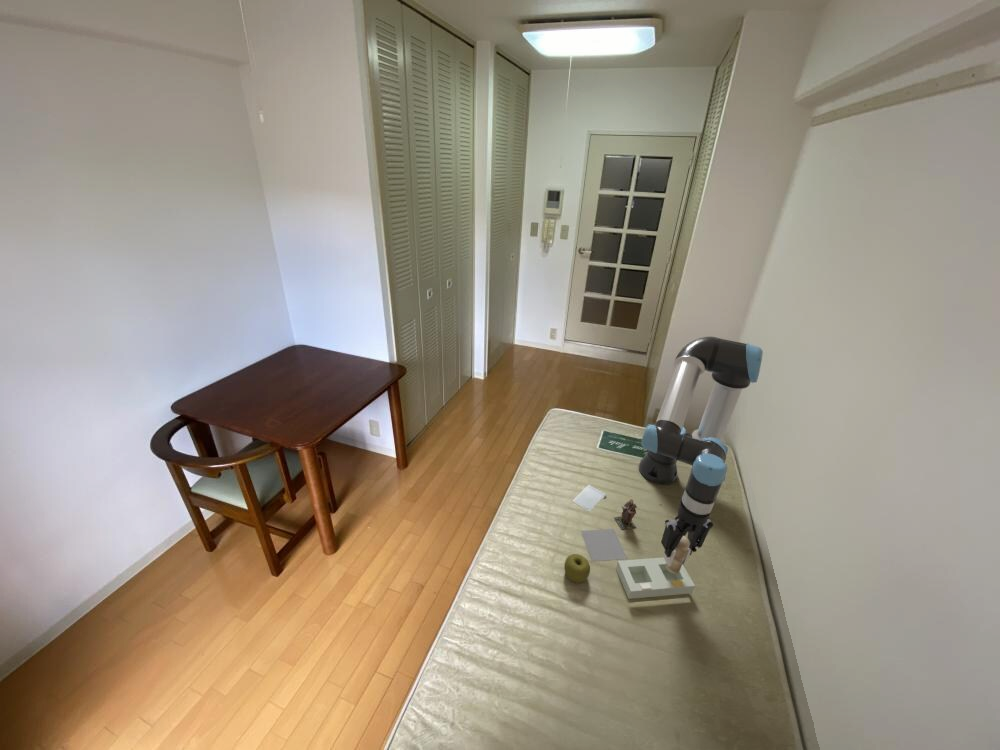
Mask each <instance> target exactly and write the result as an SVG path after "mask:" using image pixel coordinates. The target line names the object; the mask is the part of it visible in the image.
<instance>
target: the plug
mask: <svg viewBox="0 0 1000 750" xmlns="http://www.w3.org/2000/svg"><path fill="white" fill-rule="evenodd" d="M689 546H690V541H689V539H688V536H687V537H686V535H685V536H683V537H682V538H681V540H680V542H679V543H678V545H677V546H676V548H675V550H676V554H675V556H674V559H673V562H672V564H671V566H668V565H667V563H666V568H667V570H668V571H669V572H671V573H673V574H677V573H679V571H680V569H681V566H682V564H683V561H684V559H685V556H686V553H687V551H688V548H689Z"/></svg>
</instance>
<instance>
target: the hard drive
mask: <svg viewBox="0 0 1000 750" xmlns="http://www.w3.org/2000/svg"><path fill="white" fill-rule="evenodd" d="M606 497H607V493H605V492H604V491H603V492H602V491H601V490H599V489H597V488H596V487H594V486H592V485H590V484H587V485H586V486H585V487H584V488H583V489H582V490H581V491H580V492H579V493H578V494H577V495H576V496H575V498H573V500H572V503H575V504H576V505H578V506H579V507H581V508H583V509H584V510H585V511H586V512H591V510H593V509H594V507H595V506H597V504H598V503H599V502H600V501H601V500H605V498H606Z"/></svg>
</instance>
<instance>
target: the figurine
mask: <svg viewBox="0 0 1000 750" xmlns="http://www.w3.org/2000/svg"><path fill="white" fill-rule="evenodd" d="M634 500H635V499H632V498H630V499H629V500H628V501H626V503H625V504H623V505H622V506H621V508H622V512H621V515H620V516H615V517H613V519H614V520H615V523H616V524H617V526H618V528H620V530H621V531H626V530H632V529H636V528H637V527H636V525H635V524H634V522H633V519H634V517H635V515H636V514H637V510H636V509H637V508H638V507H637V506H638V505H637V503H634Z"/></svg>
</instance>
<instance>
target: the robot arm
mask: <svg viewBox="0 0 1000 750" xmlns="http://www.w3.org/2000/svg"><path fill="white" fill-rule="evenodd" d="M763 354H764V353H763V348H761V347H760V346H757V345H754V344H753V345H752V344H750V343H745V342H740V341H733V340H729V339H725V338H721V337H716V336H703V337H700V338H697V339H694V340H692V341H691V342H688V344H686V345H685V346H683V347H682V348H681V350H680V351H679V352H678V353H677V355H676V357H675V359H674V362H673V366H674V372H673V374H672V376H671V377H672V378H671V380H670V381H669V385H668V388H667V390H666V394H665V396H664V399H663V401H662V405H661V407H660V410H659V412H658V415H657V418H656V421H655V424H647V425H646V427H645V428H644V432H643V433H642V434H643V435H642V438H641V442H640V444H641V447H642V448H643V449H645V450H647V452H646V453H645V455H644V456H643V458H641V460H640V462H639V464H638V471H639V472H640V474H641V475H642V477H644V478H645V479H646V480H648V481H649V482H651V483H655V484H657V485H671V484H673V483H674V482H675V481H676V479H677V477H678V467H677V461H678V462H681V463H685V464H687V465H690V466H692V467H691V469H690V473H689V477H688V481H687V482H686V485H685V489H684V490H683V491H684V492H683V493H682V496H681V500H680V503H679V504H678V508H677V509H678V510H677V516H676V517H674V520H671V521H670V520H669V519H665V520H664V523H665V526H664V529H663V530H664V531H663V535H662V537H661V540H660V543H661V546H662V547H663V549H664V554H665V555H664V556H663V557H664V559H665V561H666V563H667V565H668V566H671V564H672V562H673V559H674V556H675V554H676V550H675V548H676V546H677V545H678V543H679V542H680V540H681V538H682V537H683V536H685V537H686V535H687V538H688V539H689V541H690V546H689V548H688V551H687V553H686V556H685V559H684V561H683V566H686V564H687V562H688V560H689V557H690V556H691V555H692V553H695V552H697V548H700V549H701V548H702V546H703V544H704V543H705V540H706V537H707V536H708V534H709V532H710V530H711V529H712V528H713V526H714V523H713V522H712V521H711V519H710V515H711V512H712V510H713V507H714V504H715V502H716V499H717V496H718V494H719V492H720V489H721V487H722V485H723V482H725V480H726V475H727V472H728V465H727V464H726V460H727V454H728V450H729V446H728V445H727V444H726V440H725V438H724V436H725V433H726V431H727V428H728V426H729V424H730V421H731V419H732V416H733V413H734V410H735V408H736V406H737V403H738V401H739V399H740V395H741V393H742V391H743V389H747V388H749V387H750V384H751V383H752V384H753V383H757V382H758V379H759V374H760V371H761V365H762V360H763ZM705 371H706V372H709V373H711V378H712V380H713V382H714V383H713V386H712V388H711V392H710V394H709V397H708V400H707V403H706V406H705V409H704V412H703V414H702V417H701V420H700V424H699V427H698V428H697V429H694V430H693V431H692V433H688V432H687V430H686V428H685V427H684V424H685V421H686V419H687V415H688V413H689V409H690V405H691V403H692V399H693V396H694V394H695V389H696V387H697V384H698V380H699V377H700V376H701V375H703V374H704V372H705Z"/></svg>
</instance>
